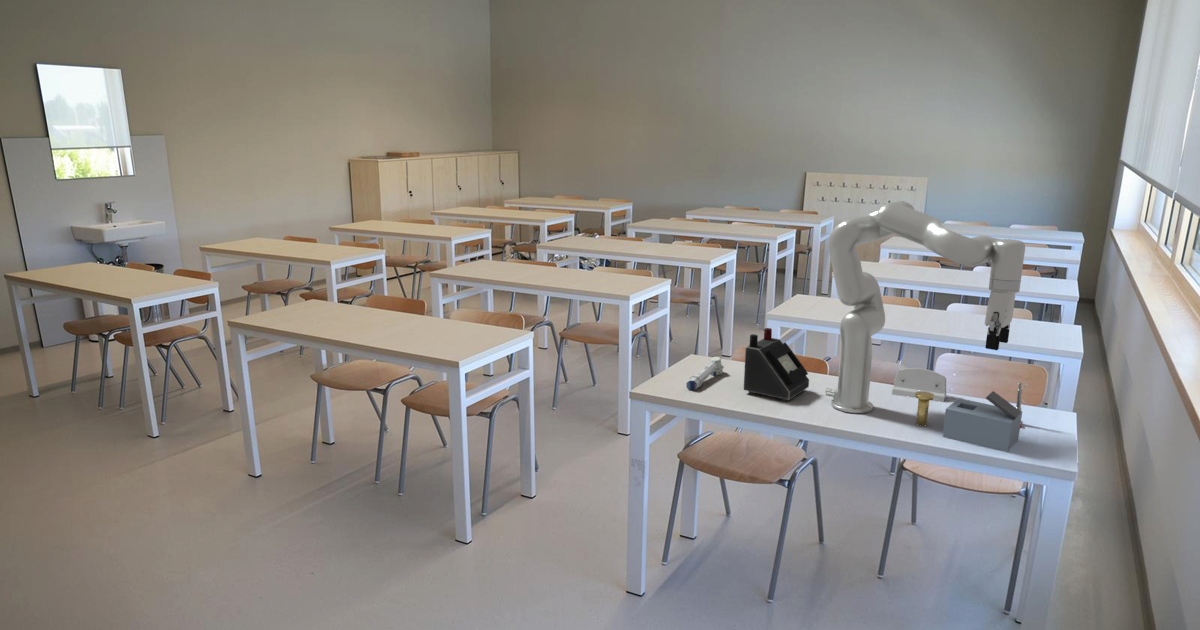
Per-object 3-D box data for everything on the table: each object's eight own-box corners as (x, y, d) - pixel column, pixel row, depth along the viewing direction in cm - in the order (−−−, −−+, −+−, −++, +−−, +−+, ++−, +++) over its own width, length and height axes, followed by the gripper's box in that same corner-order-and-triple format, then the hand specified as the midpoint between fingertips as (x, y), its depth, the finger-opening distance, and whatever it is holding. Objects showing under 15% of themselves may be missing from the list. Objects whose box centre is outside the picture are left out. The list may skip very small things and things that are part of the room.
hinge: (890, 394, 258) (894, 364, 259) (892, 394, 262) (896, 365, 263) (944, 402, 250) (949, 371, 251) (945, 403, 254) (950, 373, 255)
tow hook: (987, 426, 231) (1022, 429, 227) (989, 385, 228) (1025, 387, 225) (984, 417, 238) (1018, 419, 235) (987, 377, 236) (1021, 379, 232)
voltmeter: (789, 404, 248) (793, 344, 244) (743, 394, 258) (746, 336, 253) (809, 391, 261) (813, 333, 256) (764, 381, 270) (767, 326, 266)
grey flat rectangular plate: (985, 398, 215) (987, 396, 214) (991, 392, 219) (993, 390, 219) (1014, 420, 211) (1016, 418, 211) (1019, 414, 215) (1021, 412, 215)
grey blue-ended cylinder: (684, 379, 261) (712, 351, 281) (684, 396, 264) (712, 368, 284) (698, 381, 259) (725, 353, 279) (698, 399, 261) (725, 370, 281)
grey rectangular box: (942, 436, 221) (945, 408, 220) (955, 425, 230) (958, 398, 228) (1007, 452, 211) (1011, 423, 209) (1018, 439, 220) (1022, 411, 218)
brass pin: (909, 424, 231) (912, 394, 229) (915, 419, 235) (918, 390, 232) (927, 428, 227) (930, 398, 225) (933, 423, 231) (936, 393, 229)
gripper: (998, 279, 219) (990, 337, 223) (980, 287, 206) (973, 349, 210) (1027, 282, 214) (1019, 341, 218) (1011, 291, 201) (1003, 354, 205)
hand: (996, 345), depth 214 cm, fingers open, 9 cm apart
